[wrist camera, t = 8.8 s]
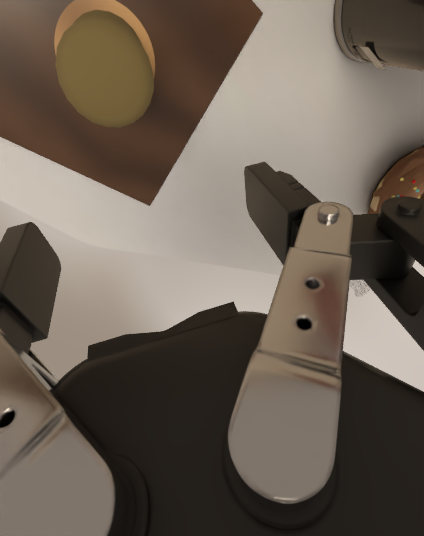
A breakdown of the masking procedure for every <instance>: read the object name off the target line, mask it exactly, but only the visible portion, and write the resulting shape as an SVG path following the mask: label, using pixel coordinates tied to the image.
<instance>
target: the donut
mask: <svg viewBox="0 0 424 536" xmlns="http://www.w3.org/2000/svg"><path fill="white" fill-rule="evenodd" d="M399 196H408V197H415V198H419V199H422V200H424V147H421V148H419V149H418V150H416V151H414V152H413V153H411V154H409V155H408V156H406V157H404V158H402V159H400V160H399V161H398V162H397V163H396V164H395V165H394V166H393V167H392V169H391V170H390V171H389V172H388V173H387V174H386V175H385V177H384V178H383V179H382V180H381V182H380V184H379V186H378V187H377V189H376V190H375V192H374V193H373V199H372V202H371V206H370V209H369V211H368V214H377V213H379V211H380V208H381V205H382V203H383V202H384V201H385V200H387V199H389V198H392V197H399Z"/></svg>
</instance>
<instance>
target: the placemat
mask: <svg viewBox="0 0 424 536" xmlns="http://www.w3.org/2000/svg"><path fill="white" fill-rule="evenodd" d="M93 10H103V11H110V12H112V13H114V14H115V15H117V16H119V17H121V18H123V19H124V20H125V21H126V22H127V23H128V24H129V25H130V26H131V27H132V28H133V29H134V31H135V32H136V34H137V36H138V37H139V39H140V41H141V43H142V46H143V48H144V50H145V51H146V53H147V55H148V57H149V60H150V64H151V67H152V70H153V79H154V91H153V95H152V98H151V102H150V105H149V106H148V108H147V110H146V111H145V113H144V114H143V116H141V117H140V118H139V119H138V120H136V121H135V122H134V123H132V124H129V125H126V126H123V127H120V128H117V127H104V126H101V125H99V124H96V123H93V122H91V121H90V120H88V119H87V118H85V117H84V116H83V115H81V114H80V113H79V112H78V111H77V110H76V109H75V108H74V107H73V105H72V104H71V103H70V102H69V101H68V100H67V98H66V96H65V94H64V92H63V90H62V88H61V86H60V84H59V80H58V75H57V71H56V66H55V63H56V52H57V46H58V44H59V42H60V39H61V37H62V35H63V33H64V31H66V30H67V29H68V28H69V27H70V26H71V25H72V24H73V23H74V21H75V20H76V19H78V18H79V17H80V16H81V15H82V14H83V13H86V12H89V11H93ZM262 14H263V13H262V12H261V10H260V9H259V8H258V7H257V6H256V5H255V4H254V2H253V1H252V0H0V137H2V138H4V139H6V140H9V141H11V142H13V143H15V144H17V145H19V146H22V147H24V148H26V149H28V150H30V151H32V152H35V153H37V154H39V155H41V156H43V157H45V158H48V159H50V160H52V161H54V162H56V163H58V164H61V165H63V166H65V167H67V168H69V169H71V170H73V171H76V172H78V173H80V174H82V175H84V176H86V177H89V178H91V179H93V180H95V181H97V182H99V183H102V184H104V185H106V186H108V187H110V188H112V189H115V190H117V191H119V192H121V193H123V194H125V195H128V196H130V197H132V198H134V199H136V200H138V201H141V202H143V203H145V204H147V205H149V206H150V205H151V203H152V201H153V200H154V198H155V196H156V194H157V193H158V191H159V189H160V188H161V186H162V184H163V182H164V181H165V179H166V177H167V176H168V174H169V172H170V171H171V169H172V167H173V165H174V164H175V162H176V160H177V159H178V157H179V155H180V154H181V152H182V150H183V148H184V147H185V145H186V143H187V142H188V140H189V138H190V136H191V135H192V133H193V131H194V130H195V128H196V126H197V125H198V123H199V121H200V119H201V118H202V116H203V114H204V113H205V111H206V109H207V108H208V106H209V104H210V102H211V101H212V99H213V97H214V96H215V94H216V92H217V90H218V89H219V87H220V85H221V84H222V82H223V80H224V79H225V77H226V75H227V73H228V72H229V70H230V68H231V67H232V65H233V63H234V62H235V60H236V58H237V56H238V55H239V53H240V51H241V50H242V48H243V46H244V44H245V43H246V41H247V39H248V38H249V36H250V34H251V33H252V31H253V29H254V27H255V26H256V24H257V22H258V21H259V19H260V17H261V16H262Z"/></svg>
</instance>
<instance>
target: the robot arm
mask: <svg viewBox="0 0 424 536" xmlns="http://www.w3.org/2000/svg"><path fill="white" fill-rule="evenodd" d="M334 24H335V32H336V37H337V40H338V43H339V45H340V47H341V49H342V50H343V52H344V53H345V54H346V55H347V56H348V57H349V58H351V59H353V60H355V61H359V62H364V63H373V64H374V65H375V66H376V67H377V68H380V69H385V68H384V67H383V65H382V64H384V65H389V66H395V67H401V68H407V69H413V70H419V71H424V0H336V3H335V13H334ZM385 70H386V69H385ZM244 175H245V190H246V204H247V209H248V212H249V215H250V217H251V219H252V220H253V222H254V223H255V225H256V226H257V227H258V229H259V230H260V232H261V233H262V235H263V236H264V238H265V239H266V241H267V242H268V244H269V245H270V246H271V248H272V249H273V251H274V252H275V254H276V255H277V257H278V258H279V260H280V261H281V262H282V264H283V265H284V266H283V269H282V272H281V275H280V279H279V282H278V285H277V288H276V291H275V294H274V297H273V301H272V303H271V307H270V310H269V313H268V315H267V314H263V313H258V312H246V311H245V312H244V311H243V312H238V311H237V309H236V307H235V304H234V302H231V303H227V304H224V305H221V306H218V307H214V308H211V309H208V310H204V311H201V312H198V313H197V314H195V315H193V316H191V317H189V318H187V319H186V320H184V321H182V322H180V323H179V324H177V325H175V326H173V327H171V328H169V329H167V330H165V331H161V332H151V333H138V334H126V335H122V336H119V337H116V338H113V339H109V340H106V341H103V342H99V343H96V344H93V345H90V346H88V359H86V360H84V361H83V362H81V363H80V364H78V365H77V366H75V367H74V368H73V369H71V370H70V371H69V372H68V373H67V374H65V375H64V376H63V377H62V378H61V379H60V380H59V379H58V378H57V377H56V376H55V375H54V374H53V373H52V372H51V370H49V368H48V367H47V366H46V365H45V364H44V363H43V362H42V361H41V360H40V358H39V357H38V356H37V355H36V354H35V353H34V352H33V351H32V350H30V347H31V343H33V342H36V341H40V340H43V339H46V338H47V337H48V332H49V327H50V322H51V317H52V312H53V307H54V302H55V297H56V292H57V287H58V282H59V276H60V272H61V264H60V261H59V258H58V256H57V254H56V253H55V252H54V250H53V249H52V247H51V246H50V244H49V243H48V241H47V240H46V239H45V237H44V236H43V234H42V233H41V231H40V230H39V228H38V227H37V226H36V225H35V224H34V223H32V222H29V223H25V224H21V225H17V226H13V227H10V228H8V229H7V230H6V233H5V234H4V236H3V239H2V241H1V243H0V536H424V392H423V391H421V390H419V389H417V388H415V387H413V386H411V385H409V384H407V383H405V382H403V381H401V380H399V379H397V378H395V377H393V376H391V375H389V374H387V373H385V372H383V371H381V370H379V369H377V368H375V367H374V366H372V365H369V364H367V363H366V362H364V361H362V360H360V359H358V358H356V357H354V356H352V355H350V354H348V353H346V352H344V351H343V341H344V331H345V320H346V311H347V301H348V291H349V281H350V280H364V281H365V282H366V283H367V284H368V286H369V287H370V288H371V289H372V290H373V291H374V293H375V294H376V295H377V296H378V297H379V298H380V300H381V301H382V302H383V303H384V304H385V305H386V307H387V308H388V309H389V310H390V311H391V313H392V314H393V315H394V316H395V317H396V319H398V321H399V322H400V323H401V324H402V326H403V327H404V328H405V329H406V330H407V332H408V333H409V334H410V335H411V336H412V337H413V339H414V340H415V341H416V342H417V343H418V345H419V346H420V347H421V348H422V349H423V350H424V277H423V276H422V275H421V274H420V273H419V272H417V271H416V270H415V269H414V268H413V267H412V266H413V264H414V262H415V260H416V261H417V262H419V263H420V264H421V265H422V266H423V267H424V200H422V199H419V198H415V197H408V196H399V197H392V198H389V199H387V200H385V201H384V202H383V203H382V205H381V208H380V211H379V213H377V214H362V215H353V212H352V211H351V210H350V209H349V208H348V207H346V206H344V205H342V204H339V203H334V202H321V201H319V200H318V199H317V198H316V197H315V196H314V195H313V194H312V193H310V192H309V191H308V190H307V189H306V188H304V186H303V185H302V184H300V183H298V181H297V180H296V179H295V178H294V177H293V176H291V175H289V174H287V173H284V172H281V171H278V172H275V171H274V170H273V169H272V168H271V167H270V166H269V165H268V164H267V163H266V162H261V163H258V164H254V165H250V166H246V167H245V171H244Z"/></svg>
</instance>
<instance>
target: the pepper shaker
mask: <svg viewBox="0 0 424 536" xmlns="http://www.w3.org/2000/svg"><path fill="white" fill-rule="evenodd" d="M55 66H56V71H57V75H58V80H59V84H60V86H61V88H62V90H63V92H64V94H65V96H66V98H67V100H68V101H69V102H70V103H71V104H72V105H73V107H74V108H75V109H76V110H77V111H78V112H79V113H80V114H81V115H83V116H84V117H85V118H87V119H88V120H90V121H91V122H93V123H96V124H99V125H101V126H104V127H117V128H120V127H123V126H126V125H129V124H132V123H134V122H135V121H136V120H138V119H139V118H140V117H141V116H143V114H144V113H145V111H146V110H147V108H148V106H149V105H150V102H151V98H152V95H153V91H154V79H153V70H152V67H151V64H150V60H149V57H148V55H147V53H146V51H145V50H144V48H143V46H142V43H141V41H140V39H139V37H138V36H137V34H136V32H135V31H134V29H133V28H132V27H131V26H130V25H129V24H128V23H127V22H126V21H125V20H124V19H123V18H121V17H119V16H117V15H115V14H114V13H112V12H110V11H103V10H93V11H89V12H86V13H83V14H82V15H81V16H80V17H79V18H78V19H76V20H75V21H74V23H73V24H72V25H71V26H70V27H69V28H68V29H67V30H66V31H64V33H63V35H62V37H61V39H60V42H59V44H58V46H57V52H56V63H55Z"/></svg>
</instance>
